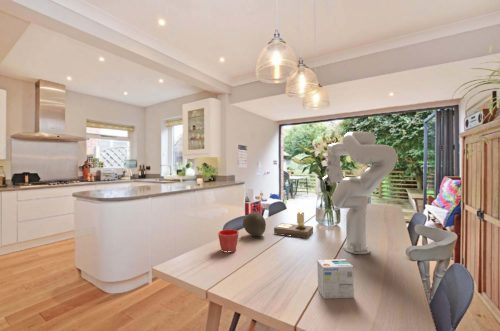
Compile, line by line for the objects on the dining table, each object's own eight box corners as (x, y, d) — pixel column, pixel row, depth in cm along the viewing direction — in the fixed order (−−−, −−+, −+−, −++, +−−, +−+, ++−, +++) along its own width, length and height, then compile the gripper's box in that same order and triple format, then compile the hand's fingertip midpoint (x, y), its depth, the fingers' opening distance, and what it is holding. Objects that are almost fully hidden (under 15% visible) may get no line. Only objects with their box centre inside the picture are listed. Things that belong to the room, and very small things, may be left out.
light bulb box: (346, 287, 85) (345, 258, 85) (354, 298, 78) (354, 266, 78) (316, 288, 84) (316, 259, 85) (323, 299, 78) (322, 267, 78)
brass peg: (303, 235, 149) (302, 213, 149) (296, 234, 151) (296, 213, 151) (305, 233, 152) (304, 212, 152) (298, 233, 154) (298, 211, 154)
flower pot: (241, 252, 122) (241, 233, 122) (221, 255, 118) (221, 236, 118) (235, 245, 132) (235, 228, 132) (216, 248, 128) (216, 230, 128)
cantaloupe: (256, 231, 159) (255, 209, 159) (270, 236, 148) (270, 212, 148) (239, 236, 150) (239, 212, 150) (253, 241, 139) (253, 216, 139)
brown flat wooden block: (307, 238, 142) (307, 231, 142) (274, 233, 153) (273, 227, 153) (313, 232, 155) (312, 226, 155) (281, 228, 165) (281, 222, 165)
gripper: (327, 164, 139) (327, 192, 139) (348, 163, 146) (349, 190, 146) (318, 164, 146) (319, 191, 146) (339, 163, 153) (340, 189, 153)
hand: (334, 191), depth 146 cm, fingers open, 9 cm apart
